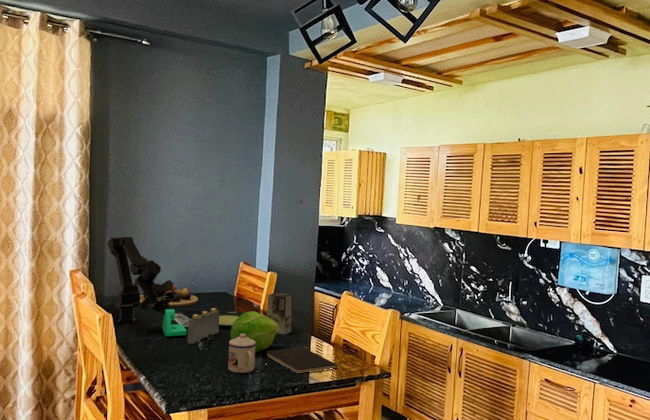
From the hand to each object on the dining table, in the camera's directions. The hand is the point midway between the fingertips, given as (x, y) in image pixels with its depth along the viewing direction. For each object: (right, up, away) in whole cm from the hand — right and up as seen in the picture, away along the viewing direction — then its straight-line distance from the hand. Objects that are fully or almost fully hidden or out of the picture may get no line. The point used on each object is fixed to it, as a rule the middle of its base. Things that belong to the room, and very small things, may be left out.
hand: (170, 316), depth 225 cm
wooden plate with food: (-20, -5, +64) cm, 67 cm away
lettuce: (+37, -9, -18) cm, 42 cm away
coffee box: (+43, -9, +12) cm, 46 cm away
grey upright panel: (+14, -8, -4) cm, 17 cm away
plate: (+19, -8, +25) cm, 32 cm away
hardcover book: (+54, -11, -30) cm, 63 cm away
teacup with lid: (+36, -10, -43) cm, 57 cm away
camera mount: (+2, -7, -2) cm, 8 cm away
